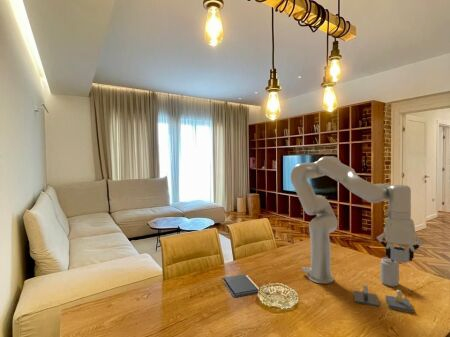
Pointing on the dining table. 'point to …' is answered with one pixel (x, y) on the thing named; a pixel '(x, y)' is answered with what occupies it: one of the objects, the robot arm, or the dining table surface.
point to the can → (389, 272)
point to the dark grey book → (240, 286)
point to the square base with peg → (399, 302)
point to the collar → (400, 254)
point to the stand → (366, 297)
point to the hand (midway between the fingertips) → (399, 258)
